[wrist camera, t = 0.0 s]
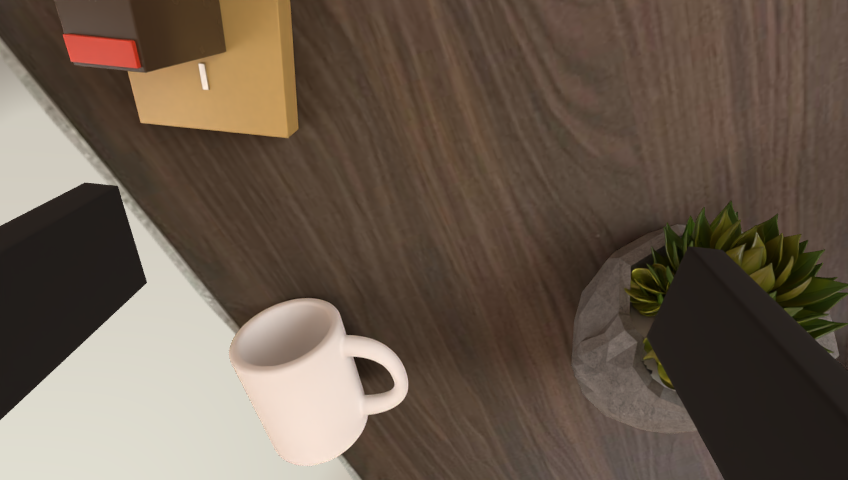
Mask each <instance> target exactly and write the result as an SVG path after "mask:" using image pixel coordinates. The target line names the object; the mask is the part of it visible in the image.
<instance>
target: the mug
mask: <svg viewBox="0 0 848 480" xmlns="http://www.w3.org/2000/svg"><path fill="white" fill-rule="evenodd" d="M229 357H230V361H231V363H232V365H233V367H234V369H235V371H236V373H237V375H238V377H239V379H240V381H241V383H242V385H243V387H244V389H245V391H246V393H247V395H248V397H249V399H250V401H251V403H252V405H253V407H254V409H255V411H256V413H257V415H258V417H259V419H260V421H261V422H262V425H263V427H264V429H265V430H266V432H267V434H268V436H269V438H270V440H271V442H272V444H273V446H274V448H275V450H276V452H277V453H278V454H279V456H281V458H283V459H284V460H286V461H287V462H289V463H292V464H296V465H302V466H309V465H317V464H321V463H324V462H327V461H329V460H331V459H333V458H335V457H337V456H339V455H340V454H342V453H343V452H345V451H346V450H347V449H348V448H349V447H350V446H352V444H353V443H354V442H355V441H356V440H357V439H358V437H359V436H360V434H361V433H362V431H363V429H364V427H365V424H366V421H367V417H368V415H370V414H376V413H380V412H384V411H387V410H389V409H392V408H394V407H395V406H397V405H398V404H399V403H401V402H402V400H403V399H404V398H405V396H406V394H407V391H408V377H407V374H406V371H405V368H404V366H403V364H402V362H401V361H400V359H399V358H398V356H397V355H396V354H395V353H394V352H393V351H392V350H391V349H390V348H388V347H387V346H386V345H384V344H382V343H381V342H379V341H376V340H374V339H371V338H367V337H363V336H356V335H346V332H345V329H344V326H343V322H342V319H341V316H340V313H339V311H338V310H337V309H336V307H334V306H333V305H332V304H331V303H329V302H327V301H324V300H321V299H315V298H300V299H293V300H289V301H285V302H282V303H279V304H276V305H274V306H271V307H269V308H267V309H265V310H264V311H262V312H260V313H258V314H257V315H255V316H254V317H253V318H251V319H250V320H249V321H248V322H247V323H245V324H244V325H243V326H242V327H241V329H240V330H239V331H238V332H237V334H236V335H235V337H234V338H233V340H232V343H231V346H230V350H229ZM353 357H362V358H367V359H370V360H373V361H376V362H378V363H380V364H381V365H383V366H384V367H385V368H386V369H387V370H388V371H389V372H390V374H391V375H392V377H393V380H394V383H395V386H394V388H393V389H392V390H390V391H388V392H385V393H380V394H373V395H365V393H364V390H363V387H362V384H361V380H360V377H359V374H358V371H357V367H356V364H355V361H354V358H353Z"/></svg>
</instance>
